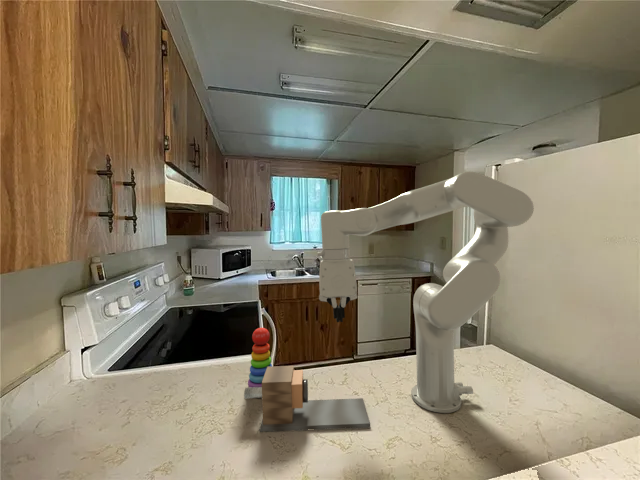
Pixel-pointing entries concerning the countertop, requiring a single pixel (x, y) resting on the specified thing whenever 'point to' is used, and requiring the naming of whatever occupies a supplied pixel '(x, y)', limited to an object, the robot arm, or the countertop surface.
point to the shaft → (257, 391)
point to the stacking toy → (259, 357)
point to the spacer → (297, 389)
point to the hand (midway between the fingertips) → (339, 320)
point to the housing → (305, 407)
